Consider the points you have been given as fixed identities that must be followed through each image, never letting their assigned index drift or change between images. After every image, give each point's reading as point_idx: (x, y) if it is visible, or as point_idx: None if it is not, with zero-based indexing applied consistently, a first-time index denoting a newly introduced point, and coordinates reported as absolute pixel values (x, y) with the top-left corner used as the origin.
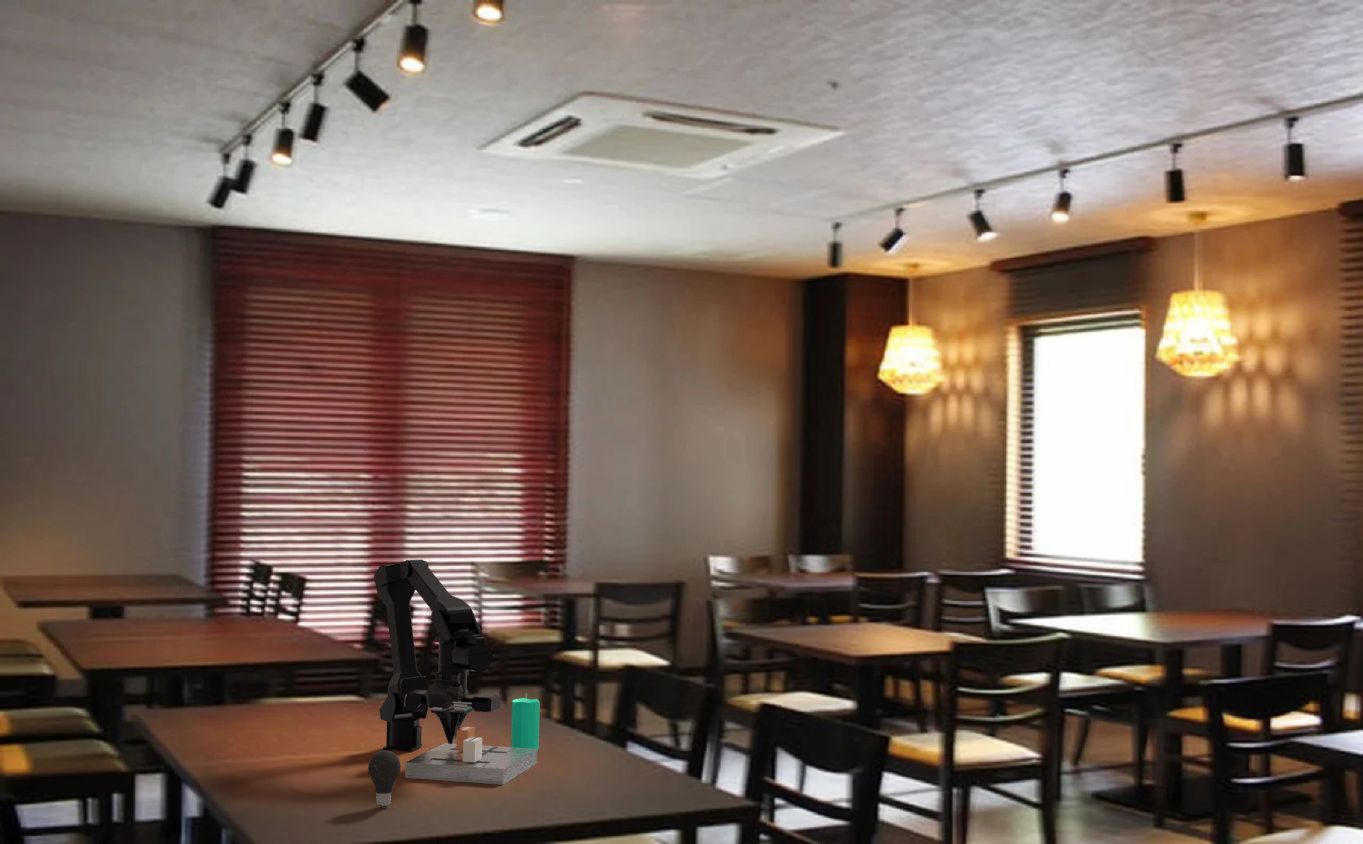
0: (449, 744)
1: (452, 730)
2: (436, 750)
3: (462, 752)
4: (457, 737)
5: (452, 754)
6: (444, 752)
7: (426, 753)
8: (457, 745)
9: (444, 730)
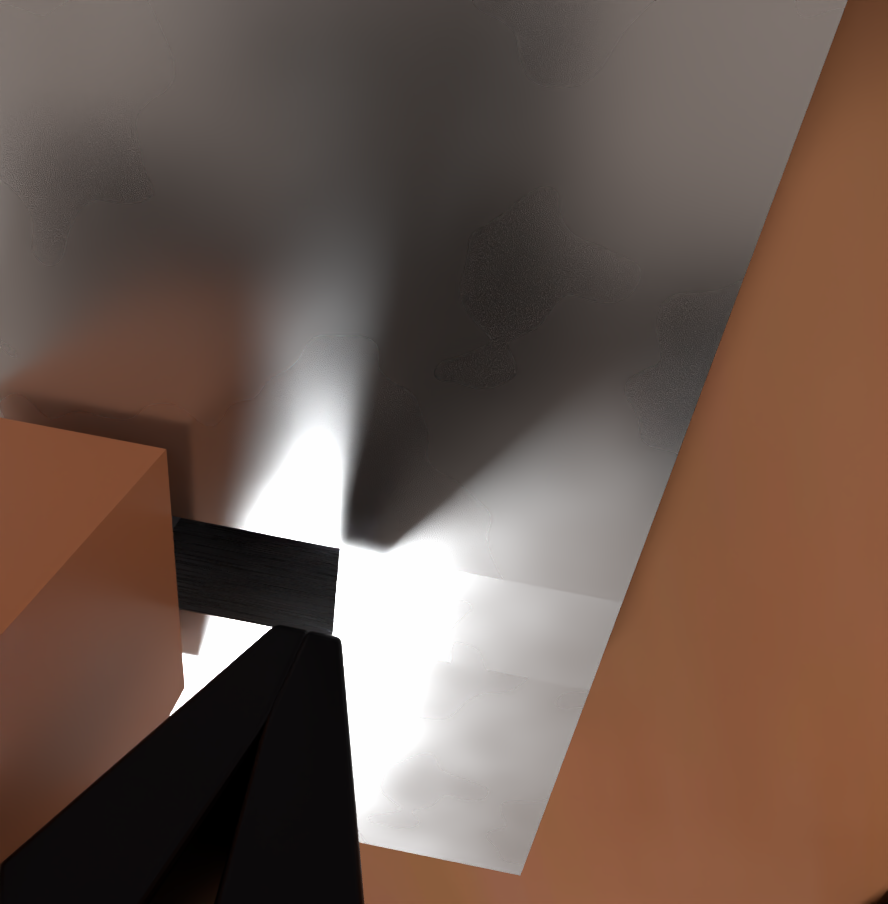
0: (442, 816)
1: (112, 840)
2: (539, 486)
3: (42, 372)
4: (3, 606)
5: (122, 162)
6: (348, 338)
7: (707, 186)
8: (100, 491)
9: (347, 875)
